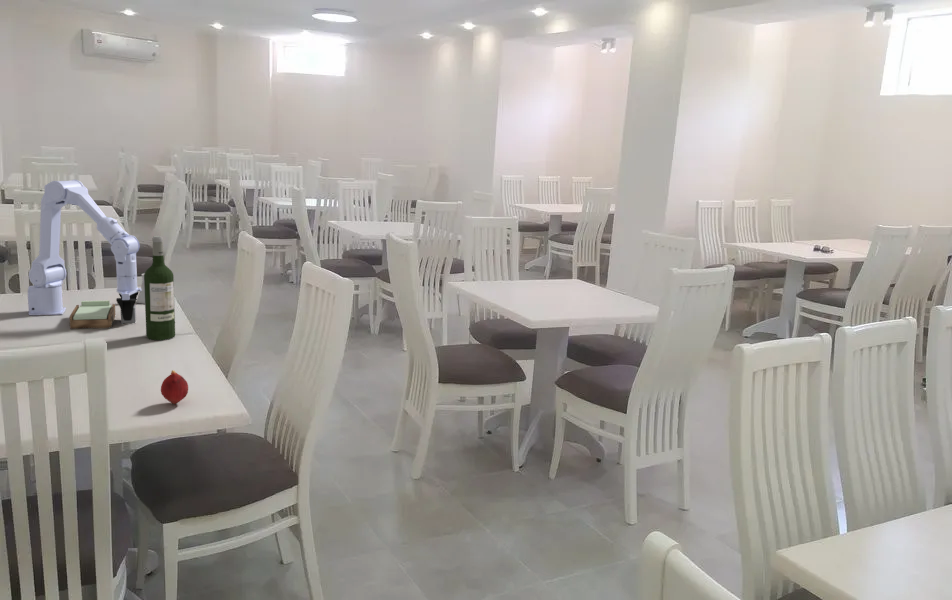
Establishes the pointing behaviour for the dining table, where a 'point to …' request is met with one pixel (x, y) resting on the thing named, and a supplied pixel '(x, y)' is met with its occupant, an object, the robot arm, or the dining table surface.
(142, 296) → the flask
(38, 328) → the dining table surface
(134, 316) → the block
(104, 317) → the sage lid
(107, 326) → the walnut box
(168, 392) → the onion
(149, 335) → the wine bottle
